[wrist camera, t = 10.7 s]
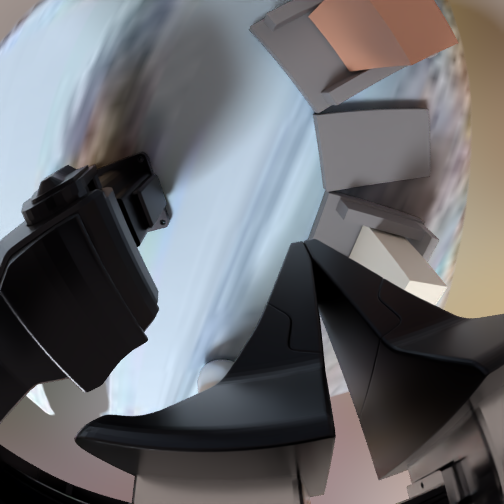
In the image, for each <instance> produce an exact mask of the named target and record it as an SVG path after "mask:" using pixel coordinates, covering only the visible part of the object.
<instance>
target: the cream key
mask: <svg viewBox="0 0 504 504" xmlns="http://www.w3.org/2000/svg"><path fill="white" fill-rule="evenodd" d="M349 258H351V259H352V260H354V261H356V262H358V263H359V264H361V265H363V266H364V267H366V268H368V269H369V270H371V271H373V272H375V273H376V274H378V275H380V276H381V277H383V279H386V280H388V281H390V282H391V283H393V284H395V285H397V286H398V287H400V288H402V289H404V290H405V291H407V292H409V293H411V294H413V295H415V296H417V297H419V298H421V299H423V300H425V301H427V302H429V303H431V304H433V305H436V304H437V302H438V301H439V299H440V298H441V296H442V295H443V293H444V291H445V290H446V288H447V286H446V285H445V283H444V282H443V281H442V280H441V278H440V277H439V276H438V275H437V273H436V272H435V271H434V270H433V269H432V267H431V266H430V265H429V264H428V263H427V262H426V260H425V259H424V258H423V257H422V256H421V255H420V253H419V252H418V251H417V250H416V249H415V248H414V247H413V246H412V245H411V243H410V242H409V241H408V240H407V239H406V238H405V237H404V236H400V235H396V234H393V233H389V232H386V231H382V230H378V229H374V228H371V227H367V226H363V227H362V229H361V231H360V234H359V236H358V238H357V240H356V243H355V245H354V247H353V249H352V252H351V254H350V256H349Z"/></svg>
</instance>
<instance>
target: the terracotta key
mask: <svg viewBox="0 0 504 504" xmlns="http://www.w3.org/2000/svg"><path fill="white" fill-rule="evenodd" d="M308 17H309V18H310V19H311V21H312V22H313V23H314V24H315V25H316V27H317V28H318V29H319V30H320V32H321V33H322V34H323V35H324V37H325V38H326V39H327V41H328V42H329V43H330V45H331V46H332V47H333V49H334V50H335V51H336V53H337V54H338V56H339V57H340V58H341V60H342V61H343V63H344V64H345V66H346V67H347V69H348V70H349V72H351V71H358V70H365V69H373V68H382V67H392V66H406V65H413V64H415V63H417V62H419V61H421V60H423V59H425V58H427V57H429V56H431V55H433V54H435V53H438V52H440V51H442V50H444V49H446V48H448V47H451V46H453V45H455V44H457V43H458V41H457V39H456V37H455V35H454V33H453V31H452V30H451V28H450V26H449V24H448V22H447V21H446V19H445V17H444V16H443V14H442V12H441V11H440V9H439V7H438V6H437V4H436V3H435V1H434V0H324V1H323V2H322V3H321V4H320V5H319V6H318V7H317V8H316V9H315V10H314V11H313V12H312V13H311V14H310V15H309V16H308Z"/></svg>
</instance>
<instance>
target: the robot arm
mask: <svg viewBox="0 0 504 504" xmlns="http://www.w3.org/2000/svg"><path fill="white" fill-rule="evenodd" d="M139 157H143V159H144V161H143V162H141V161H140V160H139ZM166 204H167V202H166V200H165V197H164V194H163V191H162V188H161V185H160V182H159V179H158V176H157V175H155V174H153V171H152V168H151V165H150V162H149V159H148V156H147V154H146V153H143V152H141V153H138V154H135V155H132V156H130V157H127V158H124V159H122V160H119V161H117V162H114V163H111V164H109V165H106V166H104V167H102V168H99V169H97V168H96V165H93V166H91V167H88V165H87V166H84V167H82V168H80V169H75V168H73V167H71V166H69V165H67V166H65V167H63V168H61V169H60V170H58V171H56V172H54V173H53V174H51V175H49V176H48V177H46V178H45V179H44V180H43V181H41V183H40V186H39V189H38V190H37V191H36V192H35V193H34V194H33V196H32V197H31V198H30V199H29V200H27V201H26V202H24V203H23V206H22V211H21V212H22V214H23V217H24V219H25V221H24V222H23V223H22V224H20V225H19V226H18V227H16V228H15V229H14V230H13V231H11V232H10V233H9V234H8V235H6V236H5V237H4V238H3V239H2V240H1V241H0V424H1V422H2V421H3V420H4V419H5V418H6V417H7V415H8V414H9V413H10V412H11V411H12V410H13V409H14V408H15V406H16V405H17V404H18V403H19V402H20V401H21V400H22V399H23V398H24V397H25V396H26V395H27V393H28V392H29V391H30V390H31V389H33V388H34V387H35V386H36V385H38V384H42V383H48V382H53V381H59V380H63V379H70V380H71V381H72V382H74V384H76V385H77V386H78V387H79V388H80V389H81V390H82V391H83V392H89V391H91V390H93V389H95V388H97V387H99V386H101V385H102V384H103V383H104V382H105V380H106V379H107V377H108V376H109V375H110V373H111V372H112V371H113V369H114V368H115V367H116V366H117V364H118V363H119V362H120V361H121V360H122V359H123V358H124V357H125V356H126V355H128V354H129V353H130V352H131V351H132V350H134V349H136V348H137V347H139V346H141V345H142V344H144V343H146V342H147V341H148V338H147V336H146V335H145V333H144V332H145V331H146V329H147V328H148V327H149V325H150V324H151V323H152V322H153V320H154V319H155V317H156V315H157V313H158V311H159V307H158V305H157V302H158V290H157V287H156V285H155V283H154V281H153V279H152V277H151V275H150V273H149V271H148V269H147V267H146V265H145V263H144V261H143V259H142V257H141V255H140V253H139V250H138V248H137V247H138V246H140V244H141V242H142V241H143V239H144V237H145V235H146V234H147V232H150V231H153V230H157V229H161V228H165V227H167V226H168V224H169V222H170V219H169V216H168V214H167V211H166V208H165V206H166ZM161 220H165V221H166V223H163V222H162V221H161ZM319 313H320V315H321V318H322V320H323V323H324V325H325V328H326V331H327V333H328V336H329V338H330V341H331V343H332V346H333V349H334V351H335V354H336V357H337V359H338V362H339V365H340V367H341V370H342V373H343V375H344V378H345V381H346V384H347V387H348V389H349V392H350V395H351V398H352V400H353V403H354V406H355V409H356V412H357V415H358V418H359V419H360V420H359V421H360V424H361V427H362V430H363V433H364V436H365V439H366V442H367V445H368V448H369V451H370V454H371V457H372V461H373V464H374V467H375V470H376V473H377V476H378V479H379V480H381V479H384V478H387V477H390V476H393V475H395V474H398V473H401V472H403V471H406V470H408V471H409V475H410V479H411V483H412V484H411V485H409V486H407V491H408V496H409V499H407V500H404V501H402V502H399V503H396V504H504V314H500V315H494V316H488V317H481V318H473V319H472V318H470V319H469V318H462V317H459V316H456V315H453V314H451V313H449V312H447V311H445V310H443V309H441V308H439V307H437V306H435V305H433V304H431V303H429V302H427V301H425V300H423V299H421V298H419V297H417V296H415V295H413V294H411V293H409V292H407V291H405V290H404V289H402V288H400V287H398V286H397V285H395V284H393V283H391V282H390V281H388V280H386V279H383V277H381V276H380V275H378V274H376V273H375V272H373V271H371V270H369V269H368V268H366V267H364V266H363V265H361V264H359V263H358V262H356V261H354V260H352V259H351V258H349V257H347V256H345V255H344V254H342V253H340V252H338V251H337V250H335V249H333V248H331V247H330V246H328V245H326V244H324V243H322V242H321V241H319V240H317V239H311V240H306V241H304V243H303V242H302V241H301V242H296V243H291V245H290V247H289V249H288V252H287V255H286V257H285V260H284V262H283V265H282V267H281V270H280V272H279V275H278V277H277V280H276V282H275V285H274V287H273V290H272V292H271V295H270V297H269V299H268V302H267V305H266V306H265V309H264V311H263V314H262V316H261V318H260V320H259V322H258V324H257V326H256V328H255V330H254V331H253V333H252V335H251V337H250V338H249V340H248V341H247V343H246V345H245V346H244V348H243V349H242V351H241V352H240V354H239V356H238V357H237V359H236V360H235V362H234V363H233V365H232V366H231V368H230V369H229V371H228V372H227V374H226V375H225V376H224V377H223V378H222V379H221V380H220V381H219V382H218V383H217V384H216V385H214V386H212V387H211V388H209V389H207V390H204V391H202V392H200V393H198V394H196V395H194V396H192V397H190V398H187V399H185V400H183V401H181V402H178V403H176V404H174V405H172V406H169V407H167V408H165V409H162V410H160V411H157V412H154V413H150V414H146V415H140V416H121V415H104V416H101V417H99V418H97V419H95V420H93V421H91V422H89V423H88V424H86V425H85V426H84V427H83V428H81V430H80V431H79V432H78V433H77V435H76V436H75V438H74V439H75V442H76V443H77V445H78V446H80V447H81V448H82V449H84V450H85V451H87V452H88V453H91V454H92V455H94V456H96V457H97V458H99V459H101V460H103V461H105V462H107V463H109V464H111V465H113V466H115V467H117V468H119V469H121V470H123V471H125V472H127V473H129V474H132V475H134V476H135V480H134V488H133V498H132V503H129V502H125V501H121V500H117V499H114V498H110V497H107V496H103V495H100V494H97V493H94V492H91V491H88V490H85V489H83V488H80V487H77V486H74V485H72V484H70V483H67V482H65V481H63V480H60V479H59V478H56V477H54V476H52V475H50V474H48V473H46V472H44V471H43V470H41V469H39V468H37V467H36V466H34V465H32V464H30V463H28V462H27V461H25V460H23V459H22V458H20V457H18V456H17V455H15V454H14V453H12V452H11V451H9V450H8V449H6V448H5V447H3V446H1V445H0V504H311V503H310V497H313V496H319V495H324V492H325V488H326V483H327V479H328V474H329V469H330V464H331V459H332V454H333V448H334V443H335V436H336V435H335V427H334V421H333V414H332V408H331V401H330V395H329V389H328V384H327V378H326V372H325V363H324V353H323V343H322V333H321V324H320V316H319Z"/></svg>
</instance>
